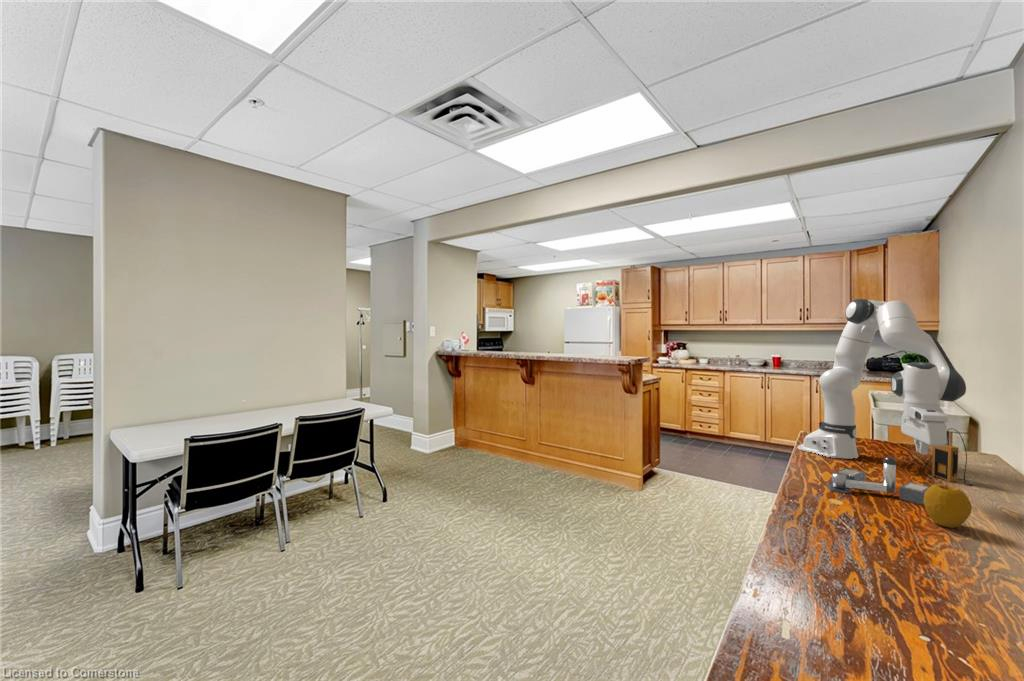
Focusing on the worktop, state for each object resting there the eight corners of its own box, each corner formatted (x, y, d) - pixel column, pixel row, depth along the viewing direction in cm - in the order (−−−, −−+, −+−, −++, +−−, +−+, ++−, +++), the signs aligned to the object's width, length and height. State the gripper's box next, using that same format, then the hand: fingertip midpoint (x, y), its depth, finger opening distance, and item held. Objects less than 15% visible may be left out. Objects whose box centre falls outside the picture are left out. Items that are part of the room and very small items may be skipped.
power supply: (899, 499, 143) (899, 486, 143) (909, 493, 148) (910, 481, 148) (923, 505, 138) (924, 492, 137) (933, 499, 143) (933, 486, 143)
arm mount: (830, 491, 149) (831, 488, 149) (825, 485, 155) (825, 483, 155) (852, 493, 147) (852, 491, 147) (846, 487, 153) (846, 485, 153)
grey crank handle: (833, 487, 150) (834, 453, 150) (830, 483, 154) (831, 450, 153) (897, 494, 143) (898, 459, 143) (892, 490, 147) (893, 455, 147)
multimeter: (988, 486, 155) (990, 431, 154) (960, 486, 155) (961, 431, 155) (947, 472, 170) (949, 422, 169) (922, 472, 170) (923, 422, 169)
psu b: (834, 483, 157) (834, 471, 157) (846, 478, 163) (846, 467, 163) (854, 488, 152) (854, 476, 152) (865, 483, 158) (865, 471, 157)
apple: (971, 525, 123) (973, 485, 123) (970, 536, 117) (971, 493, 117) (924, 514, 131) (926, 476, 130) (920, 524, 124) (922, 483, 124)
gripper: (894, 406, 153) (895, 445, 153) (925, 416, 134) (925, 460, 134) (917, 407, 151) (917, 446, 151) (951, 417, 131) (952, 462, 132)
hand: (921, 453), depth 142 cm, fingers closed
